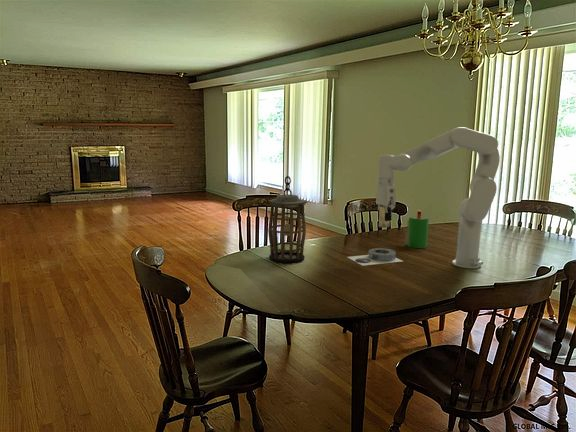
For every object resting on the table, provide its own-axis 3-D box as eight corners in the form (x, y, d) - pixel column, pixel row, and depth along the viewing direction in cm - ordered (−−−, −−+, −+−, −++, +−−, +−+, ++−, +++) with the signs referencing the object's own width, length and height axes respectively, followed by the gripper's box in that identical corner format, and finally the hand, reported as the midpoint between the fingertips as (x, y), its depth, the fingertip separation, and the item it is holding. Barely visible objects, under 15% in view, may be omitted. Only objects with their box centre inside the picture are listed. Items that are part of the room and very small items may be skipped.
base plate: (403, 263, 214) (403, 260, 214) (362, 267, 206) (362, 264, 206) (385, 255, 228) (385, 252, 228) (346, 258, 220) (346, 256, 220)
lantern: (314, 257, 222) (315, 175, 214) (294, 267, 205) (295, 178, 198) (280, 251, 231) (280, 173, 224) (258, 260, 215) (258, 176, 208)
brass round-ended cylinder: (391, 226, 215) (392, 207, 213) (382, 227, 213) (383, 207, 212) (385, 225, 220) (386, 205, 218) (376, 225, 218) (377, 206, 216)
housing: (400, 259, 216) (400, 253, 215) (377, 262, 211) (377, 256, 211) (385, 253, 227) (385, 247, 227) (363, 255, 223) (363, 249, 222)
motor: (425, 244, 250) (427, 208, 247) (428, 248, 242) (431, 211, 238) (406, 243, 251) (408, 208, 248) (409, 247, 243) (411, 211, 239)
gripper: (403, 182, 206) (401, 222, 209) (382, 179, 222) (381, 216, 225) (389, 183, 203) (387, 223, 207) (369, 180, 219) (368, 217, 222)
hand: (384, 219), depth 216 cm, fingers closed on brass round-ended cylinder, 5 cm apart
